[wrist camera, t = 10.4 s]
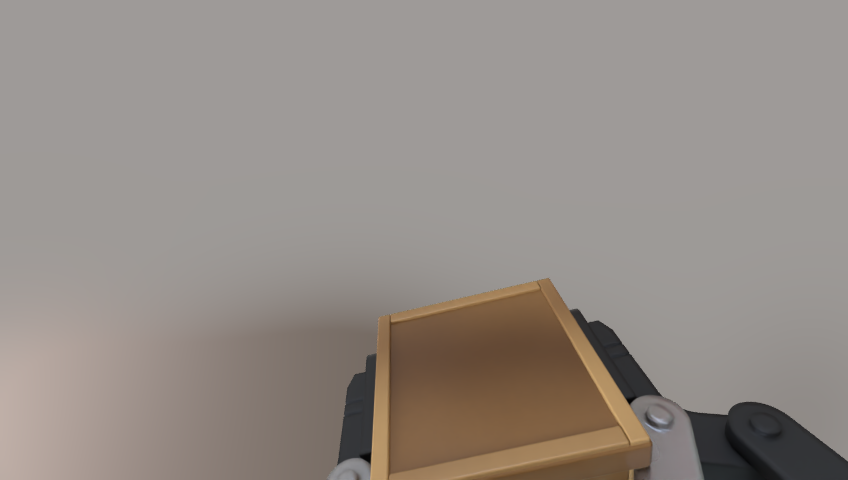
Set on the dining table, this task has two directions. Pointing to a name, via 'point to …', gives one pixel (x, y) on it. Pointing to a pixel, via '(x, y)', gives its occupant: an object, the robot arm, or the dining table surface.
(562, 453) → the tall wooden box
